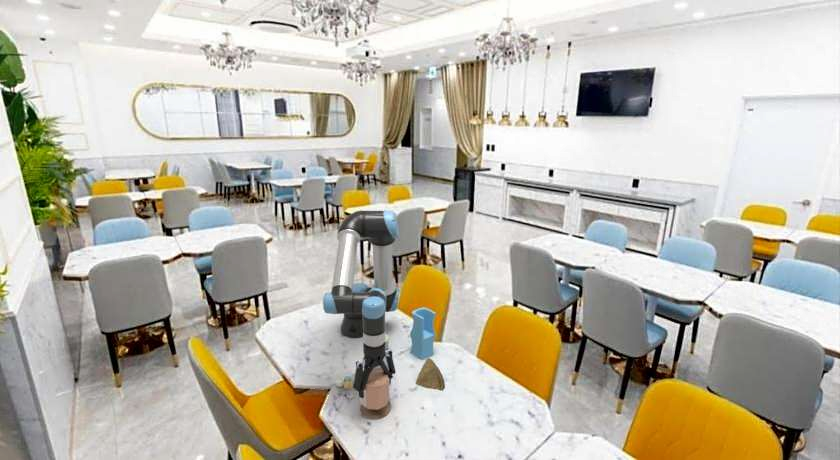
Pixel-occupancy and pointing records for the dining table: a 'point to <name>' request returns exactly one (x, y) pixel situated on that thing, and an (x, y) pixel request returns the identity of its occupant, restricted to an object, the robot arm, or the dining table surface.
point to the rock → (430, 376)
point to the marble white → (339, 383)
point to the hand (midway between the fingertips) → (375, 398)
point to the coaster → (375, 412)
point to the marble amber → (347, 385)
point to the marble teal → (347, 378)
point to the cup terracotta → (377, 390)
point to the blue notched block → (422, 333)
